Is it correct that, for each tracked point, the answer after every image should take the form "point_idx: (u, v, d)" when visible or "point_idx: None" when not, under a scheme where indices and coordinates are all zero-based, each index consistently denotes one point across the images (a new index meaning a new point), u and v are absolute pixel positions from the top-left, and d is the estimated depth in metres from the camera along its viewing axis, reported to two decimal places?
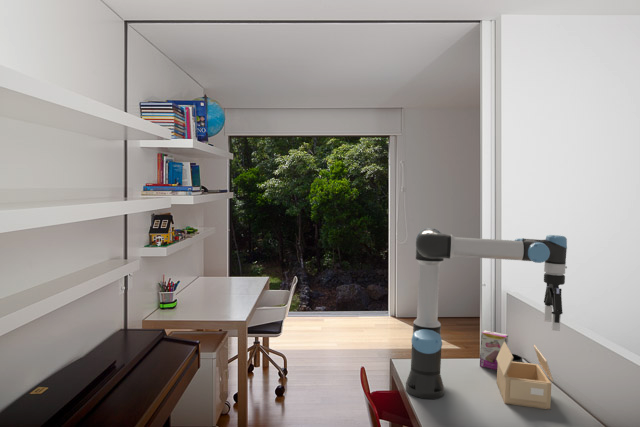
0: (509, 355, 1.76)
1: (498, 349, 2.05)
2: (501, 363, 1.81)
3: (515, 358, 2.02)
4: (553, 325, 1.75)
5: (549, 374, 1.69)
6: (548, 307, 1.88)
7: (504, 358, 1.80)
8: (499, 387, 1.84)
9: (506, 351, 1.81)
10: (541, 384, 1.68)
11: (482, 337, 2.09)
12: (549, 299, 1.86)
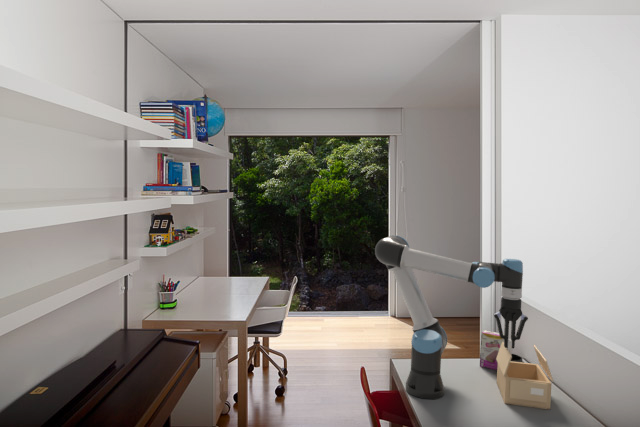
0: (507, 354, 1.76)
1: (498, 349, 2.05)
2: (501, 363, 1.81)
3: (515, 358, 2.02)
4: None
5: (549, 374, 1.69)
6: None
7: (503, 358, 1.80)
8: (499, 387, 1.84)
9: (505, 351, 1.81)
10: (541, 384, 1.68)
11: (482, 337, 2.09)
12: (511, 329, 1.80)
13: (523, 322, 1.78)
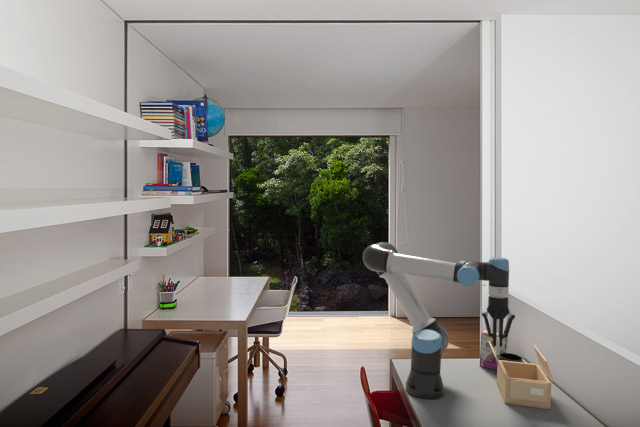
0: None
1: None
2: (498, 364, 1.81)
3: (515, 358, 2.02)
4: (495, 348, 1.83)
5: (549, 374, 1.69)
6: None
7: None
8: (499, 387, 1.84)
9: None
10: (541, 384, 1.68)
11: (482, 337, 2.09)
12: (499, 327, 1.82)
13: (510, 320, 1.79)
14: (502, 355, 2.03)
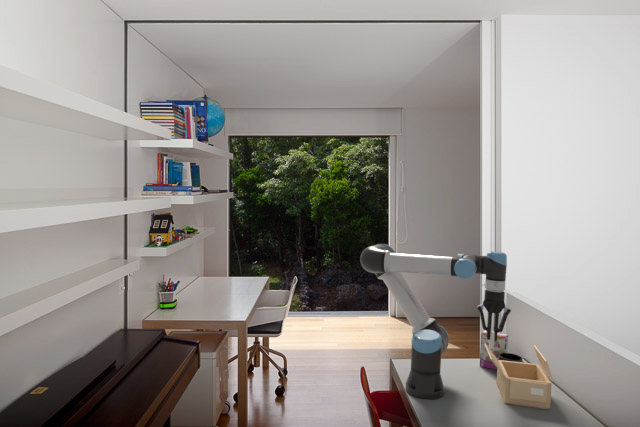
0: None
1: (498, 349, 2.05)
2: (497, 364, 1.81)
3: (515, 358, 2.02)
4: (489, 342, 1.83)
5: (549, 374, 1.69)
6: None
7: None
8: (499, 387, 1.84)
9: (489, 353, 1.83)
10: (541, 384, 1.68)
11: (482, 337, 2.09)
12: (494, 321, 1.82)
13: (506, 314, 1.79)
14: (502, 355, 2.03)
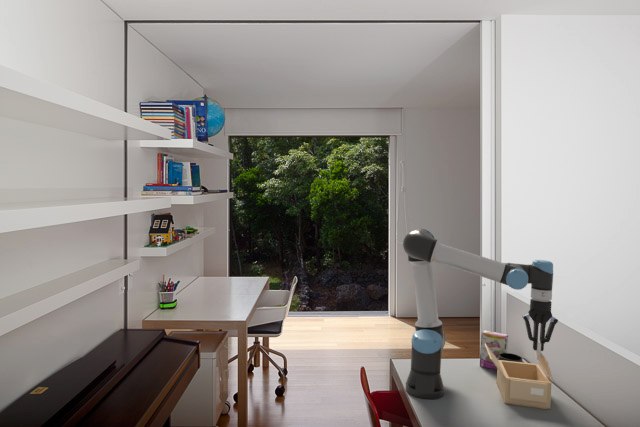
0: None
1: (498, 349, 2.05)
2: (497, 364, 1.81)
3: (515, 358, 2.02)
4: (535, 352, 1.79)
5: (549, 374, 1.69)
6: None
7: None
8: (499, 387, 1.84)
9: (489, 353, 1.83)
10: (541, 384, 1.68)
11: (482, 337, 2.09)
12: (540, 331, 1.78)
13: (553, 324, 1.76)
14: (502, 355, 2.03)
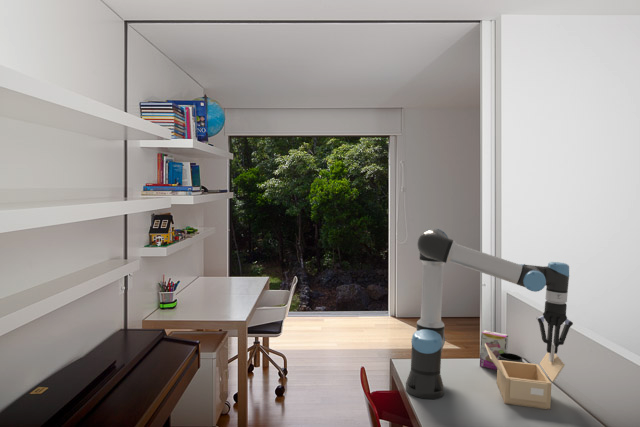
0: None
1: (498, 349, 2.05)
2: (497, 364, 1.81)
3: (515, 358, 2.02)
4: (549, 355, 1.78)
5: (555, 375, 1.69)
6: None
7: None
8: (499, 387, 1.84)
9: (489, 353, 1.83)
10: (541, 384, 1.68)
11: (482, 337, 2.09)
12: (554, 333, 1.77)
13: (568, 327, 1.74)
14: (502, 355, 2.03)
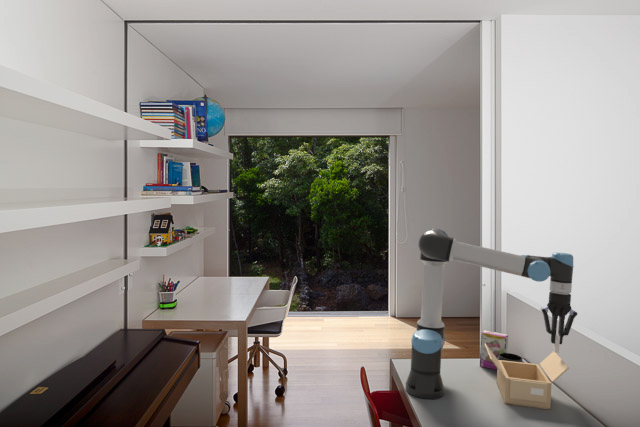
0: None
1: (498, 349, 2.05)
2: (497, 364, 1.81)
3: (515, 358, 2.02)
4: (553, 346, 1.78)
5: (556, 376, 1.69)
6: None
7: None
8: (499, 387, 1.84)
9: (489, 353, 1.83)
10: (541, 384, 1.68)
11: (482, 337, 2.09)
12: (559, 324, 1.76)
13: (572, 317, 1.74)
14: (502, 355, 2.03)
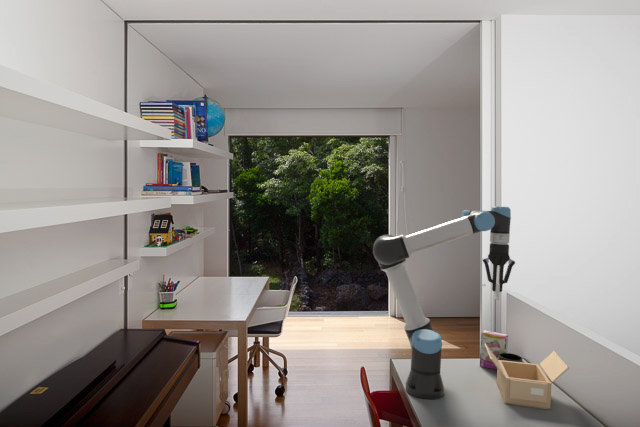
0: None
1: (498, 349, 2.05)
2: (497, 364, 1.81)
3: (515, 358, 2.02)
4: None
5: (556, 376, 1.69)
6: None
7: None
8: (499, 387, 1.84)
9: (489, 353, 1.83)
10: (541, 384, 1.68)
11: (482, 337, 2.09)
12: (499, 273, 1.88)
13: (510, 266, 1.86)
14: (502, 355, 2.03)
